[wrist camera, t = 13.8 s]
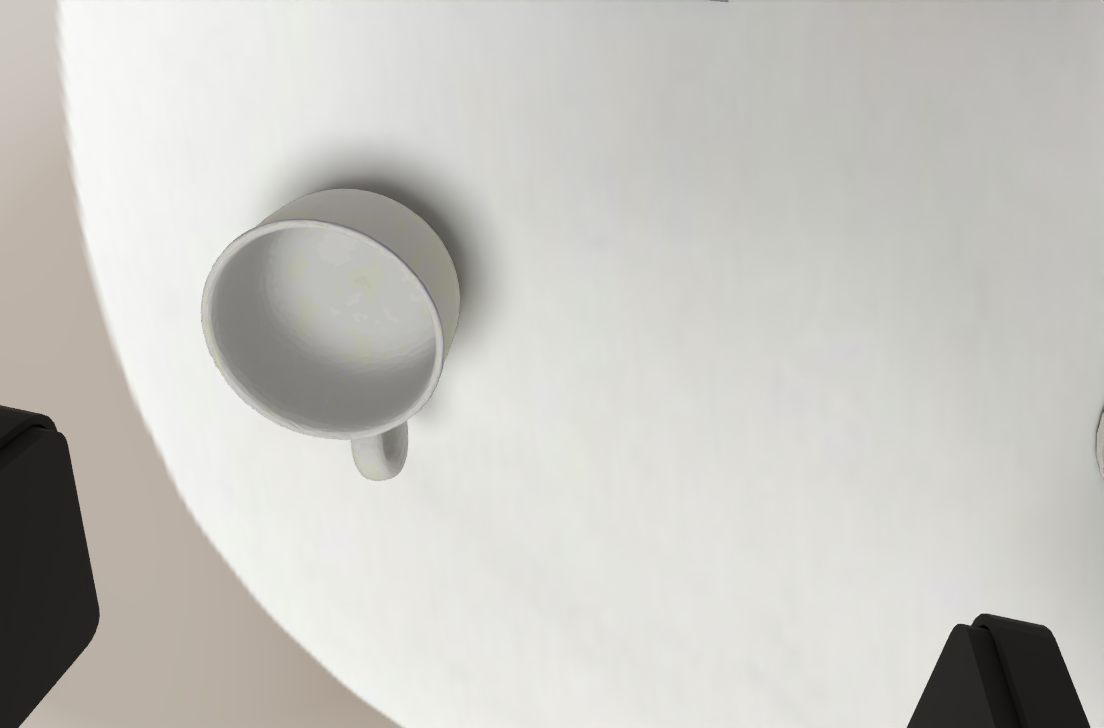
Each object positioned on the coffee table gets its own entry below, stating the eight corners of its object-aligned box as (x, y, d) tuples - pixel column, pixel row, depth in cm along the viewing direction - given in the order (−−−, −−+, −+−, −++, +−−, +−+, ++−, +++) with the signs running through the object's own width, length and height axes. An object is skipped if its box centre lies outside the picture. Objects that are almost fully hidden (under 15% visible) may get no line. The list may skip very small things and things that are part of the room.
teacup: (259, 161, 44) (174, 219, 37) (475, 167, 43) (427, 229, 36) (304, 403, 51) (239, 489, 44) (491, 416, 49) (454, 508, 43)
